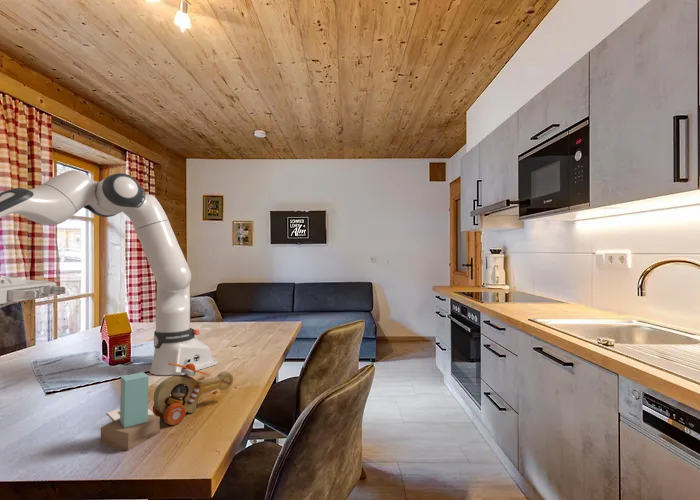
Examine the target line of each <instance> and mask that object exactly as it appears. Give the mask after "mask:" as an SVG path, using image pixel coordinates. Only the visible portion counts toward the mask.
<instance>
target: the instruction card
mask: <svg viewBox="0 0 700 500" xmlns="http://www.w3.org/2000/svg"><path fill="white" fill-rule="evenodd" d="M106 414H107V415H108V416H109V417H110V418H111V419H112V420H113V421H115V420H117V419H120V408H119V409H118V408H117V409H116V410H115V409H114V410H112V411H109V412H106ZM148 415H153V416H156V415H155V414H154V413H153V410H151V409H149V408H148Z"/></svg>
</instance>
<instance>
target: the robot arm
mask: <svg viewBox="0 0 700 500" xmlns="http://www.w3.org/2000/svg"><path fill="white" fill-rule="evenodd" d="M83 208H84V209H86V210H88V211H89V212H91V213H92V214H94V215H96V216H98V217H103V218H109V217H110V218H111V217H114V216H116V215H118V214H121V213H123V214H124V215H126V216H127V217H128V218H129V220H130V221H131V222H132V226H133V228H134V231H135V233H136V235H137V237H138V238H137V239H138V240H139V242H140V244H141V247H142V249H143V252H144V254H145V257H146V260H147V262H148V264H149V267H150V269H151V272H152V274H153V276H154V279H155V281H156V302H155V305H156V306H155V330H154V332H153V333H154V334H153V335H154V336H153V345H154V346H153V347H154V351H153V356H152V363H151V365H150V369H149V373H150V374H153V375H156V376H175V375H185V374H184V373H182V372H181V369H182V368H183V367H178V366H173V365H169V364H168V363H175V364H179V365H183V366H186V365H187V364H190V363H191V364H194V365H195V370H198V371H201V370H204V369H206V368H210V367H213V366H216V365H218V364H219V362H218V359H217V358H215V357H213V356H212V352H211V348H210V347H209V346H208V345H207V343H206V344H205V343H204V342H202V341H201V340H200V339H198V338H196V336H199V335H200V333H201V332H200V329H198V328H192V327H191V294H190V293H191V291H190V290H191V287H190V283H191V281H192V280H191V279H192V272H191V269H190V267H189V265H188V262H187V260H186V258H185V255H184V253H183V250H182V248H181V247H180V245H179V242H178V239H177V237H176V234H175V233H174V230H173V229H172V225H171V223H170V220H169V218H168V216H167V214H166V212H165V210H164V209H163V207H162V205H161V203H160V202H159V201H158V199H157V198H156V197H155V195H152V194H148V193H146V191H145V189H144V188H143V187H142V186H141V185H140V183H139V182H138V181H137V180H136V179H135V178H134V177H133V176H131V175H129V174H127V173H121V172H120V173H118V172H117V173H113V174H110V175H108V176H107V177H105V178H103V179H102V180H100V181H96V180H94V179H92V177H90V176H89V175H87V174H86V173H85V172H82V171H79V170H72V169H71V170H67V171H66V172H63V173H59V174H58V175H56V176H53V177H52V178H49V179H48V180H46V181H45V182H43V183H42V184H40V185H38V186H36V187H34V188H30V189H27V188H23V187H17V188H11V189H8V190H4V191H2V192H0V219H3V218H4V217H6V216H8V215H11V214H18V215H20V216H22V217H24V218H25V219H27V220H30V221H32V222H35V223H37V224H40V225H43V226H55V225H56V226H57V225H59V224H62V223H64V222H66V221H68V220H69V219H70V218H72V217H73V216H74V215H76V213H78V212H79V211H80V210H82V209H83ZM1 265H2V263H1V262H0V268H1ZM66 293H67V287H66V286H57V283H56V282H54V281H49V280H36V279H22V277H20V276H19V277H18V276H6V275H0V309H2V308H4V307H6V306H10V305H12V304H17V303H20V302H24V301H28V300H29V301H30V300H36V299H42V298H49V297H54V296H56V295H64V294H66Z"/></svg>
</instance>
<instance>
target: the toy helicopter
mask: <svg viewBox="0 0 700 500" xmlns="http://www.w3.org/2000/svg"><path fill="white" fill-rule="evenodd" d="M168 364H169V365H173V366H178V367H183V368H182V369H181V372H182V373H184V375H171V376H170V377H167V378H165V379H163V380H162V381H161V382H160V383H159V384H158V385H157V387H156V388H155V390H154V392H153V405H152V412H153V413H154V414H155V415H156V416H158V417H160V418H163V421H164V422H165V423H166V424H168V425H170V426H175V425H179V424H180V423H181V422H182V421H183V420H184V418H185V417H186V415H187V413H188V414H193V413H195V411H196V409H197V403H198V401H199V400H200V398H201V396H202V395H203V394H206V393H210V392H213V391H215V390H218V389H219V390H221V391H226V390H228V389H229V388H230V387H231V386H232V384H233V383H234V376H233V374H232V373H230V372H228V371H221V372H220V373H218V374H217V375H216V376H213V377H210V378H204V379H200V380H196V379H195V378H194V376H196V373H199V374H201V375H205V376H211V374H210V373H207V372H204V371H201V370H195V365H194V364H191V363H190V364H187V365H186V366H183V365H179V364H175V363H168Z"/></svg>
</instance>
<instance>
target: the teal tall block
mask: <svg viewBox="0 0 700 500" xmlns="http://www.w3.org/2000/svg"><path fill="white" fill-rule="evenodd" d="M149 379H150V378H149V375H148V374H146V373H145V372H144V371H143V372H136V373H131V374H126V375H125V374H124V375H121V376H120V396H119V397H120V402H119V403H120V405H119V406H120V407H119V409H120V422H121V424H122V425H123V427H124V428H126V427H130V426H134V425H137V424H141V423H145V422H148V409H149Z"/></svg>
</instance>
